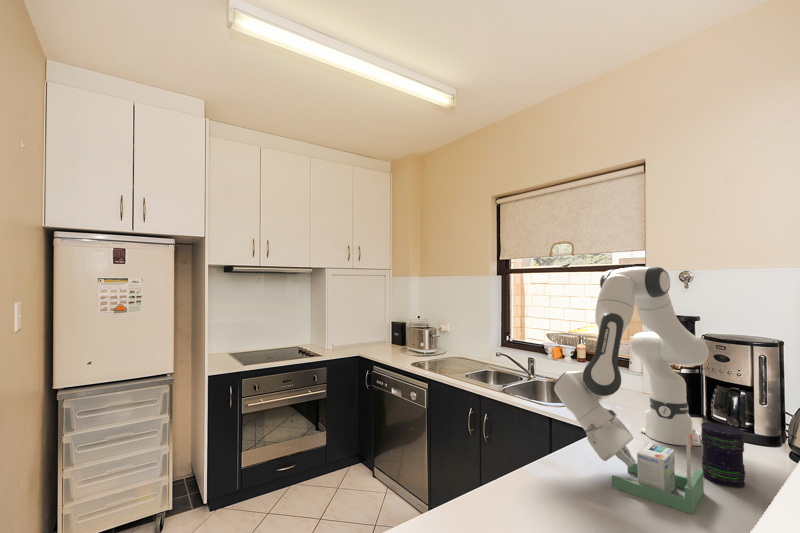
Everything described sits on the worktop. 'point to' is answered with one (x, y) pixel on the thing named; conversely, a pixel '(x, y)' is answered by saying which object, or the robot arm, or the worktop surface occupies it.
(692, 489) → the putting bay
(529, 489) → the worktop surface
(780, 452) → the worktop surface
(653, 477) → the light bulb box
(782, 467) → the worktop surface
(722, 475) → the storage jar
